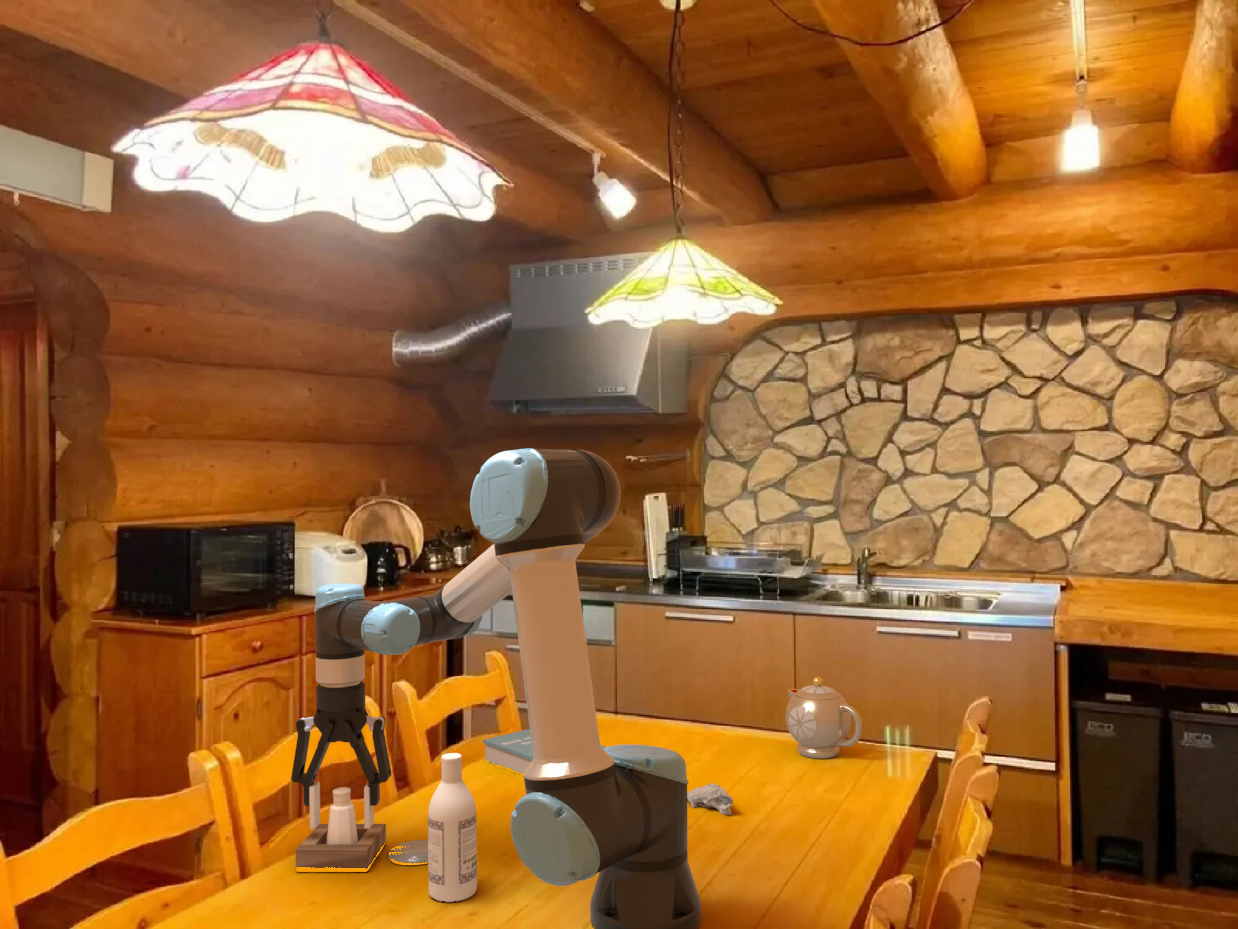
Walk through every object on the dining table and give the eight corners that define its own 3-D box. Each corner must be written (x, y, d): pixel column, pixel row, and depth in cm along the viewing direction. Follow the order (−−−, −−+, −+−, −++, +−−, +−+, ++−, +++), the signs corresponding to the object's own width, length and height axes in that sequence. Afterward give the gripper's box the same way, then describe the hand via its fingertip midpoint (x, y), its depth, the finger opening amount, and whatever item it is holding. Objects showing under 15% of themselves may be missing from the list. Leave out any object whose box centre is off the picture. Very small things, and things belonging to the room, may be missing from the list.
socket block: (367, 873, 151) (367, 850, 151) (295, 873, 151) (295, 850, 151) (386, 845, 162) (385, 823, 162) (319, 845, 162) (319, 823, 162)
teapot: (770, 753, 210) (769, 676, 210) (806, 740, 220) (806, 667, 220) (844, 771, 198) (843, 689, 198) (879, 756, 208) (878, 678, 208)
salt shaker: (363, 851, 159) (362, 783, 159) (355, 865, 154) (355, 794, 154) (329, 852, 159) (328, 784, 159) (320, 866, 154) (319, 795, 154)
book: (483, 763, 207) (483, 739, 207) (544, 748, 218) (543, 725, 218) (550, 789, 190) (549, 763, 190) (612, 771, 201) (612, 746, 201)
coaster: (439, 866, 153) (439, 862, 153) (381, 866, 153) (381, 862, 153) (450, 844, 162) (450, 840, 162) (395, 844, 162) (395, 840, 162)
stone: (700, 822, 172) (701, 798, 172) (678, 797, 184) (679, 775, 184) (735, 819, 174) (736, 796, 174) (711, 795, 185) (712, 773, 185)
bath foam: (478, 881, 147) (476, 747, 147) (475, 902, 141) (474, 761, 141) (430, 884, 147) (429, 749, 147) (426, 905, 140) (425, 763, 140)
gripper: (411, 676, 160) (412, 817, 160) (284, 677, 161) (285, 817, 161) (400, 687, 153) (401, 834, 153) (266, 687, 153) (268, 834, 153)
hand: (342, 825), depth 157 cm, fingers open, 8 cm apart
